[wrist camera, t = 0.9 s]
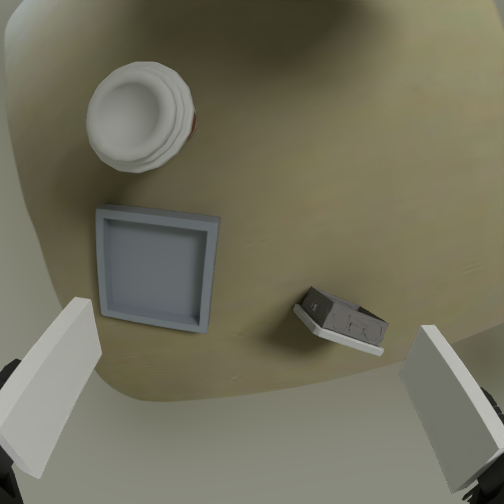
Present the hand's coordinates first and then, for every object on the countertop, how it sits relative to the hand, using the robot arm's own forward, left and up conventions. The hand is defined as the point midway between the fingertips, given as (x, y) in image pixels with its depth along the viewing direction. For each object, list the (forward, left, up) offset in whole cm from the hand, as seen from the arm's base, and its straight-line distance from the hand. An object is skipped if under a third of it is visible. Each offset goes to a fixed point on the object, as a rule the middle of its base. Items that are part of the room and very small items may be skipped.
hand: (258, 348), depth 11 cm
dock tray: (+9, -10, -24) cm, 28 cm away
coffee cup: (-8, -10, -24) cm, 28 cm away
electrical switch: (+11, +12, -25) cm, 29 cm away
